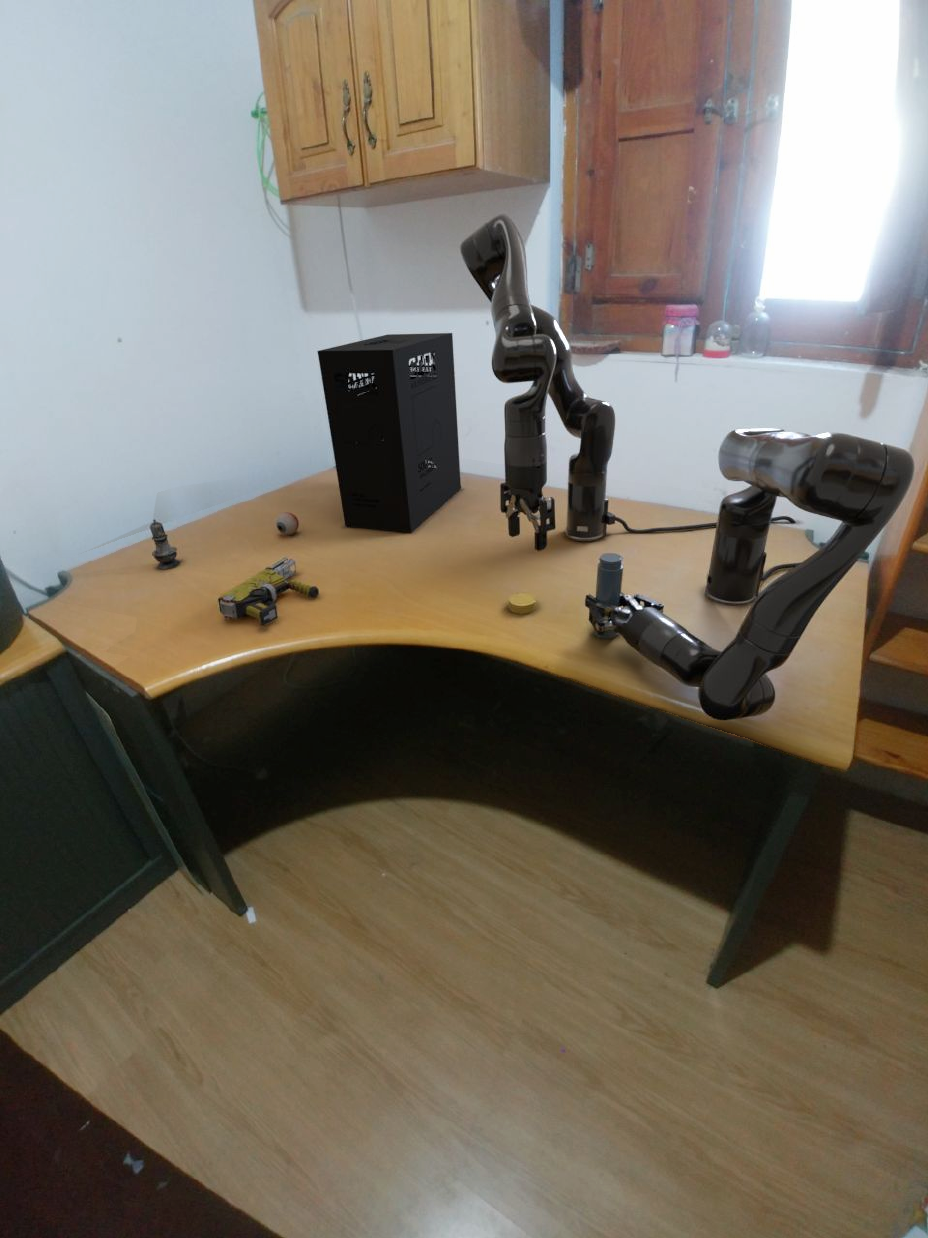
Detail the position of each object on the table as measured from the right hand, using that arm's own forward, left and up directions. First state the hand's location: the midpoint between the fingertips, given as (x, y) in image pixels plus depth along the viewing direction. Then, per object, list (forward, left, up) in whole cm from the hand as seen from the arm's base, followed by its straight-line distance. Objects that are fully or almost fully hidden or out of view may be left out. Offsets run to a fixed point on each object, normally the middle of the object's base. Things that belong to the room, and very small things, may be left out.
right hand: (598, 596), depth 112 cm
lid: (+9, -14, -5) cm, 17 cm away
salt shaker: (+76, -76, -7) cm, 107 cm away
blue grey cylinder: (0, +3, -7) cm, 7 cm away
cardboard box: (+9, -84, -7) cm, 85 cm away
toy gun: (+53, -42, -7) cm, 68 cm away
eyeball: (+45, -80, -7) cm, 92 cm away
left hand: (+8, -13, +8) cm, 17 cm away
